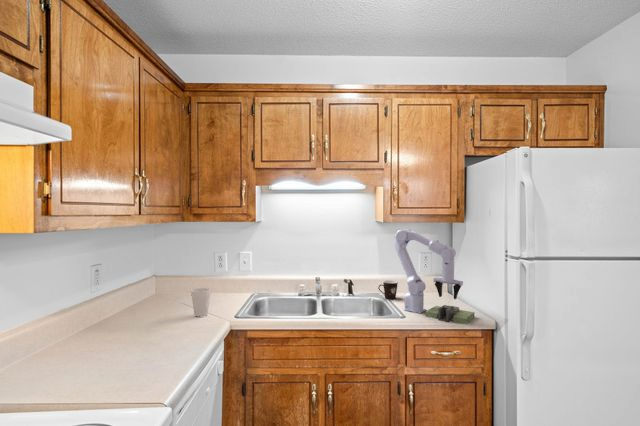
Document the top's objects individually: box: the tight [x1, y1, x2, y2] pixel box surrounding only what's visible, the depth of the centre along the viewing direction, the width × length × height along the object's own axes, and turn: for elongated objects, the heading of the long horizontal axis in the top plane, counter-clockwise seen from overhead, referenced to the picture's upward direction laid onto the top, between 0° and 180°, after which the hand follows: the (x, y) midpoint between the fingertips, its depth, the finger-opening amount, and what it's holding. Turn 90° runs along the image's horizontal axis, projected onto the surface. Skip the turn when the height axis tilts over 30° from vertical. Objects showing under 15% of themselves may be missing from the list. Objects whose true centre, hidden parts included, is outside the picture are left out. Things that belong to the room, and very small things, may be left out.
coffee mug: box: [378, 279, 399, 301], centre depth 236 cm, size 12×9×10 cm
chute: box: [437, 304, 454, 323], centre depth 194 cm, size 5×8×6 cm, turn 142°
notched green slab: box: [425, 305, 475, 325], centre depth 198 cm, size 20×14×4 cm
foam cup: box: [190, 287, 211, 317], centre depth 198 cm, size 10×9×13 cm
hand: (447, 297), depth 199 cm, fingers open, 7 cm apart
